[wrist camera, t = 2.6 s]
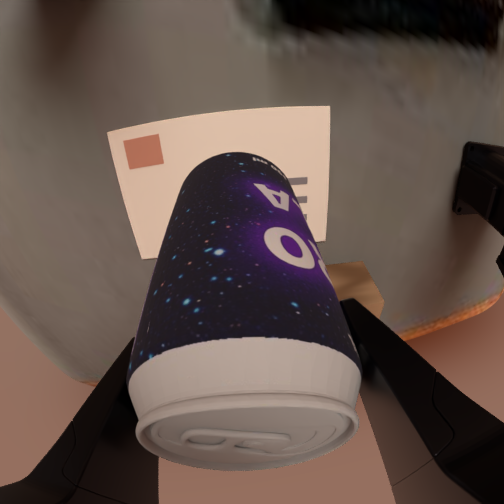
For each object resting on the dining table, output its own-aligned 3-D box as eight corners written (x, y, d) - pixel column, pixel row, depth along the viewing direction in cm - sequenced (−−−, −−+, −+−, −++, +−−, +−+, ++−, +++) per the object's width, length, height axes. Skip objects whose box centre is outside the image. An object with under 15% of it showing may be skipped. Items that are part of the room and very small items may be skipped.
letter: (329, 106, 17) (330, 106, 16) (324, 239, 22) (325, 241, 22) (107, 132, 16) (106, 132, 16) (142, 258, 22) (142, 259, 22)
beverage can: (266, 256, 17) (301, 472, 8) (170, 231, 16) (120, 458, 6) (308, 168, 14) (430, 391, 5) (197, 131, 13) (112, 362, 3)
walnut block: (362, 260, 24) (384, 302, 20) (353, 302, 27) (370, 343, 23) (304, 267, 24) (318, 312, 20) (302, 309, 27) (313, 354, 23)
